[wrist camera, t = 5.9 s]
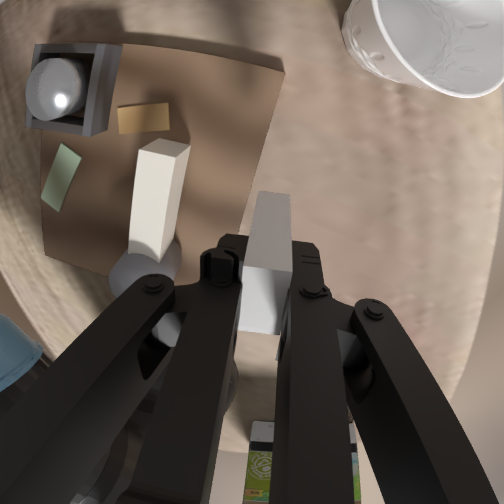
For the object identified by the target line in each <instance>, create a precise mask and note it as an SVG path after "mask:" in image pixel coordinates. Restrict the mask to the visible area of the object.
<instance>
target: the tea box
mask: <svg viewBox="0 0 504 504" xmlns="http://www.w3.org/2000/svg"><path fill="white" fill-rule="evenodd" d="M349 429H350V440H351V452H352V466H353V482H354V501H355V504H361V490H360V476H359V463H358V452H357V442H356V434H355V428H354V424H353V423H350V424H349ZM273 436H274V422H266V421H256V420H255V421H254V422H253V424H252V429H251V437H250V444H249V453H248V463H247V471H246V479H245V487H244V495H243V503H242V504H268V502H269V490H270V477H271V464H272V451H273Z"/></svg>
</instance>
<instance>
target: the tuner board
mask: <svg viewBox="0 0 504 504" xmlns="http://www.w3.org/2000/svg"><path fill="white" fill-rule="evenodd" d="M51 58H80V59H83V60H85V61H86V62H87V63H88V64H89V65H90V66H91V68H92V71H91V76H90V82H89V88H88V94H87V101H86V106H85V107H84V108H83V109H82V110H80V111H78V112H76V113H73V114H69V115H66V116H62V117H59V118H56V119H52V120H49V121H43V120H39V119H37V118H36V117H35V116H33V115H32V113H31V112H30V110H29V108H28V106H27V107H26V120H25V127H29V128H37V129H42V140H41V213H42V229H43V241H44V251H45V255H46V256H49V257H52V258H54V259H57V260H60V261H63V262H65V263H68V264H71V265H74V266H77V267H80V268H83V269H85V270H88V271H91V272H94V273H97V274H100V275H103V276H106V277H109V274H110V271H111V270H112V268H113V267H114V266H115V264H116V263H117V262H118V260H119V259H120V258H121V256H122V255H123V254H124V252H125V251H126V250H127V249H128V245H129V231H130V220H131V209H132V200H133V191H134V182H135V174H136V167H137V160H138V153H139V149H141V148H142V147H144V146H146V145H148V144H149V143H151V142H153V141H155V140H157V139H158V138H161V139H166V140H170V141H175V142H179V143H183V144H188V145H191V148H190V153H189V157H188V162H187V167H186V172H185V177H184V182H183V187H182V192H181V198H180V203H179V209H178V214H177V220H176V226H175V232H174V238H173V239H174V240H175V241H176V243H177V244H178V245H179V247H180V250H181V253H182V263H181V265H180V268H179V270H178V272H177V274H176V276H175V278H174V280H173V281H174V286H177V285H188V284H193V283H196V282H198V281H199V279H200V255H201V254H202V253H203V252H204V251H206V250H208V249H211V248H216V247H217V244H218V241H219V239H220V238H221V237H222V236H224V235H225V234H226V233H228V234H237V235H238V231H239V228H240V224H241V221H242V217H243V214H244V210H245V207H246V203H247V200H248V196H249V193H250V190H251V186H252V183H253V179H254V176H255V172H256V169H257V166H258V162H259V159H260V155H261V152H262V149H263V145H264V142H265V139H266V135H267V132H268V129H269V125H270V122H271V119H272V115H273V112H274V109H275V105H276V102H277V99H278V96H279V92H280V89H281V86H282V83H283V79H284V76H285V73H284V72H280V71H277V70H273V69H270V68H266V67H262V66H258V65H254V64H250V63H246V62H242V61H237V60H233V59H228V58H223V57H218V56H213V55H208V54H203V53H197V52H191V51H185V50H178V49H171V48H163V47H155V46H146V45H135V44H122V43H104V42H54V44H35V49H34V54H33V60H32V66H31V72H32V70H33V69H34V67H35V66H36V65H37V64H39V63H40V62H42V61H43V60H46V59H51Z"/></svg>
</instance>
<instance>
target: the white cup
mask: <svg viewBox="0 0 504 504" xmlns="http://www.w3.org/2000/svg"><path fill="white" fill-rule="evenodd" d="M341 32H342V35H343V39H344V42H345V45H346V49H347V51H348V52H349V54H350V55H351V56H352V57H353V58H354V60H355V61H356V62H357V63H358V64H359V66H360V67H361V68H363V69H365V70H367V71H369V72H370V73H372V74H374V75H376V76H377V77H379V78H386V79H389V80H392V81H395V82H398V83H402V84H407V85H410V86H414V87H418V88H423V89H427V90H432V91H436V92H440V93H443V94H447V95H451V96H455V97H461V98H475V97H480V96H483V95H486V94H488V93H490V92H492V91H494V90H495V89H497V88H498V87H499V86H500V85H501V84H502V83H503V81H504V0H352V1H351V4H350V6H349V8H348V9H347V11H346V12H345V14H344V20H343V25H342V30H341Z"/></svg>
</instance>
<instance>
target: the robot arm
mask: <svg viewBox="0 0 504 504" xmlns="http://www.w3.org/2000/svg"><path fill="white" fill-rule="evenodd" d="M237 330H241V331H249V332H257V333H265V334H274V335H280V332H281V337H280V342H279V346H278V351H277V355H276V360H277V361H278V368H277V387H276V405H275V421H274V436H273V451H272V464H271V477H270V490H269V502H268V504H355V501H354V482H353V466H352V452H351V440H350V429H349V419H348V409H347V403H348V406H349V409H350V411H351V414H352V416H353V419H354V421H355V424H356V427H357V429H358V432H359V434H360V437H361V440H362V442H363V445H364V447H365V450H366V453H367V455H368V458H369V461H370V463H371V466H372V469H373V472H374V474H375V477H376V480H377V482H378V485H379V488H380V491H381V493H382V496H383V499H384V502H385V504H499V502H498V500H497V498H496V495H495V493H494V491H493V489H492V487H491V484H490V482H489V480H488V478H487V476H486V474H485V472H484V469H483V467H482V465H481V464H480V461H479V459H478V457H477V455H476V453H475V451H474V449H473V447H472V445H471V443H470V441H469V440H468V438H467V436H466V434H465V432H464V430H463V428H462V426H461V424H460V423H459V421H458V419H457V417H456V415H455V414H454V412H453V410H452V408H451V406H450V404H449V403H448V401H447V399H446V397H445V396H444V394H443V392H442V390H441V389H440V387H439V385H438V384H437V382H436V380H435V378H434V377H433V375H432V373H431V372H430V370H429V368H428V367H427V365H426V364H425V362H424V360H423V359H422V357H421V355H420V354H419V352H418V351H417V349H416V347H415V346H414V344H413V343H412V341H411V339H410V338H409V336H408V335H407V333H406V332H405V330H404V329H403V327H402V326H401V324H400V322H399V321H398V319H397V318H396V316H395V315H394V313H393V312H392V310H391V309H390V308H389V307H388V306H387V305H386V304H384V303H382V302H381V301H378V300H375V299H367V298H366V299H361V300H359V301H358V302H357V303H356V304H355V306H354V307H353V306H350V305H347V304H344V303H341V302H339V301H337V300H335V299H334V298H332V294H331V292H330V289H329V288H328V287H327V286H325V285H324V279H323V272H322V266H321V260H320V254H319V250H318V249H317V248H316V246H315V245H314V244H313V243H308V242H300V241H292V237H291V212H290V195H289V194H281V193H273V192H265V191H259V192H258V196H257V201H256V206H255V211H254V216H253V220H252V225H251V230H250V235H249V236H245V235H237V234H228V233H226V234H225V235H224V236H222V237H221V238H220V239H219V241H218V244H217V247H216V248H211V249H208V250H206V251H204V252H203V253H202V254H201V255H200V279H199V281H198V282H196V283H193V284H188V285H177V286H174V281H173V280H172V279H171V278H170V277H168V276H166V275H163V274H158V273H156V274H148V275H144V276H142V277H140V278H139V279H137V280H136V281H135V282H134V283H133V284H132V285H131V286H129V287H128V288H127V289H126V290H125V291H124V292H123V293H122V294H121V295H120V296H119V297H118V298H117V299H116V300H115V301H114V302H113V303H112V304H111V305H110V306H109V307H108V308H107V309H105V310H104V311H103V312H102V313H101V314H100V315H99V316H98V317H97V318H96V319H95V320H94V321H93V322H92V323H91V324H90V325H89V326H88V327H87V328H86V329H85V330H84V331H83V332H82V333H81V334H80V335H79V336H78V337H77V338H76V339H75V340H74V341H73V342H72V343H71V344H70V345H69V346H68V347H67V348H66V350H65V351H64V352H63V353H62V354H61V355H60V356H59V357H58V358H57V359H56V360H55V361H54V360H53V359H52V358H51V357H50V356H49V355H48V354H47V353H45V352H44V351H43V348H42V346H41V344H40V343H38V342H37V341H34V340H32V339H31V338H30V337H29V336H28V335H27V334H25V333H24V332H23V331H22V330H21V329H20V328H19V327H18V326H17V325H16V324H15V323H14V322H13V321H12V320H11V319H10V318H9V317H7V316H6V315H4V314H2V313H0V504H209V499H210V493H211V487H212V481H213V475H214V470H215V464H216V457H217V452H218V446H219V440H220V434H221V429H222V423H223V417H224V415H225V413H226V411H227V410H228V408H229V406H230V404H231V403H232V401H233V399H234V397H235V393H236V388H237V381H238V372H237V368H236V365H235V363H234V361H233V358H234V352H235V347H236V340H237Z"/></svg>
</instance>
